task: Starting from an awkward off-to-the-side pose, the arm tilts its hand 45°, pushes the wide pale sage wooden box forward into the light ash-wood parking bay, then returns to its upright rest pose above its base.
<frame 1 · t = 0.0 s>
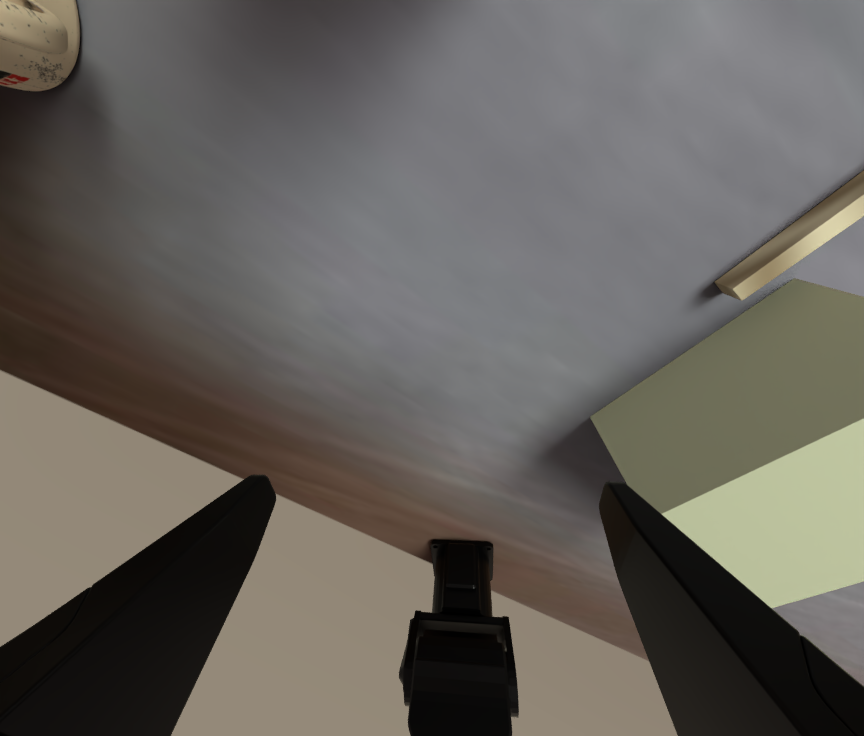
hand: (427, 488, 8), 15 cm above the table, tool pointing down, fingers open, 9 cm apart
sage box: (723, 405, 23), on the table
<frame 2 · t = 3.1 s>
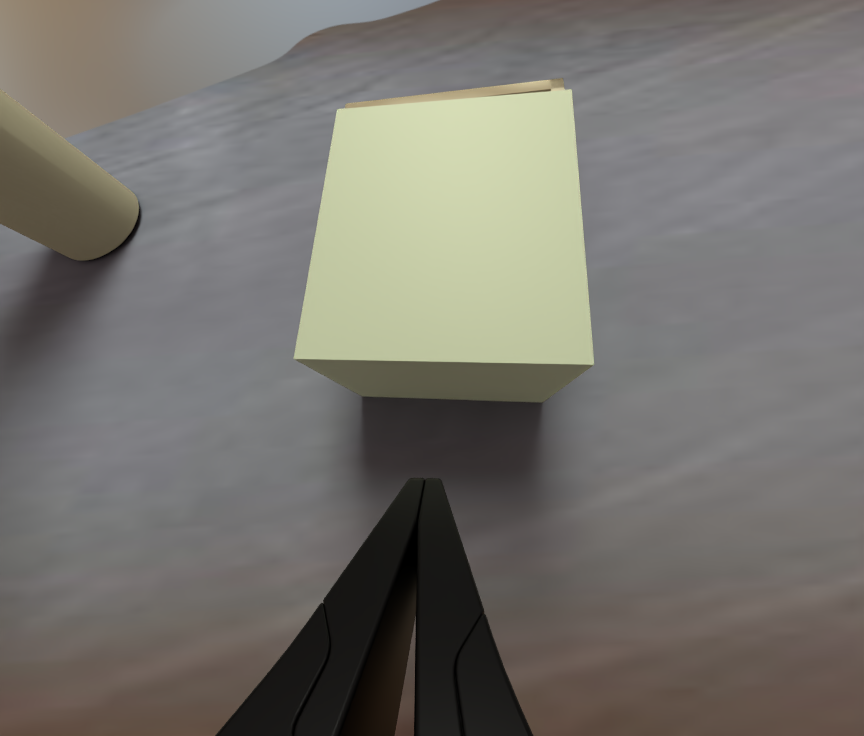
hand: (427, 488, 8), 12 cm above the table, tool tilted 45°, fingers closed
sage box: (453, 304, 23), on the table
parking bay: (451, 179, 26), on the table
travel mug: (105, 226, 29), on the table
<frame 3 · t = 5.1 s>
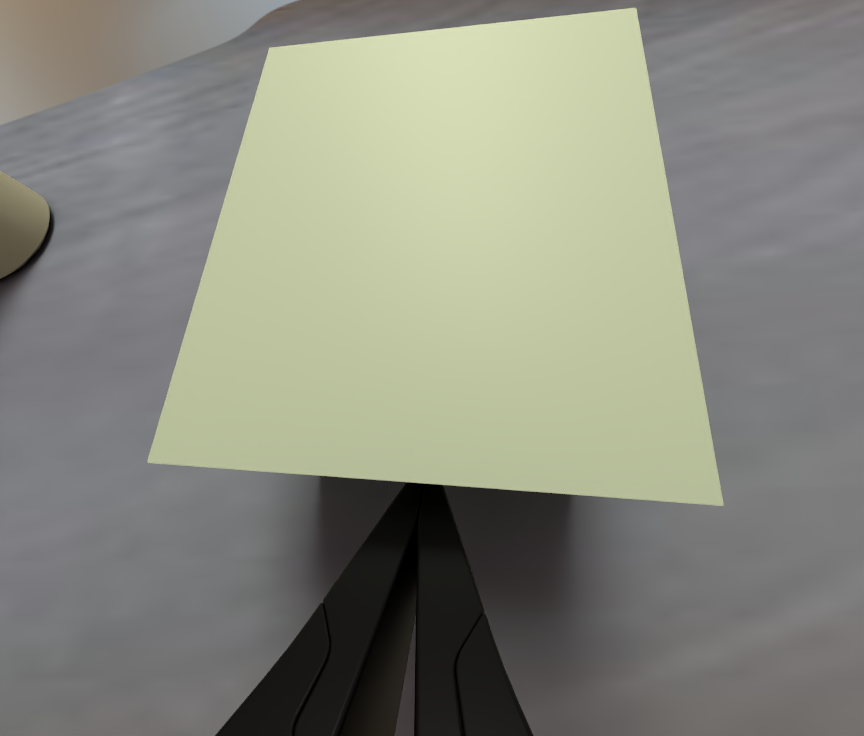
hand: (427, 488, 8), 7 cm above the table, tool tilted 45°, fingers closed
sage box: (447, 333, 17), on the table, touching gripper
travel mug: (9, 241, 23), on the table
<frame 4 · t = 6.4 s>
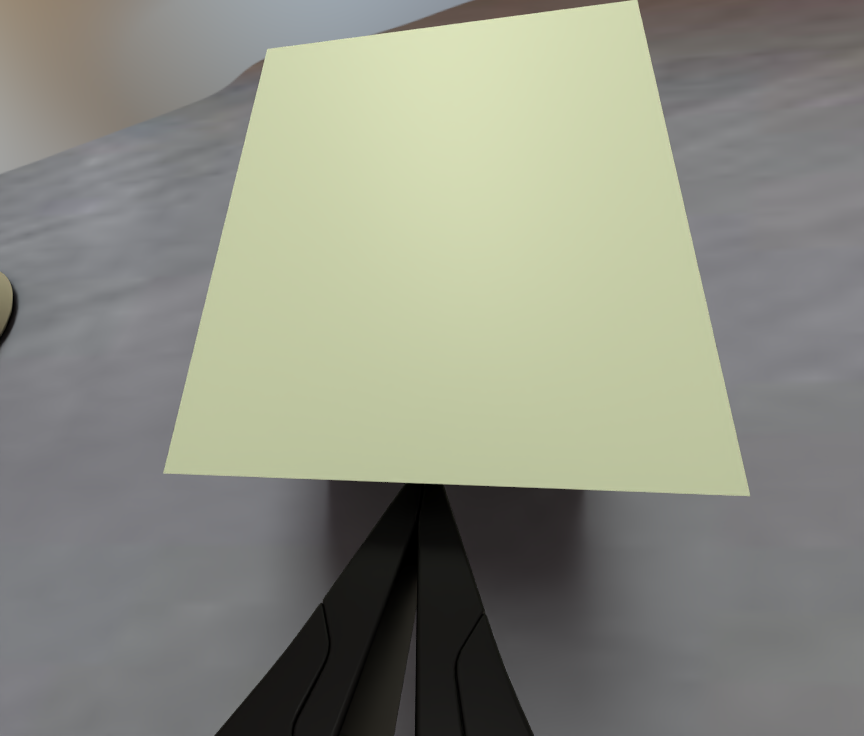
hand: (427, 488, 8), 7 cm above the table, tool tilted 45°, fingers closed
sage box: (452, 332, 17), on the table
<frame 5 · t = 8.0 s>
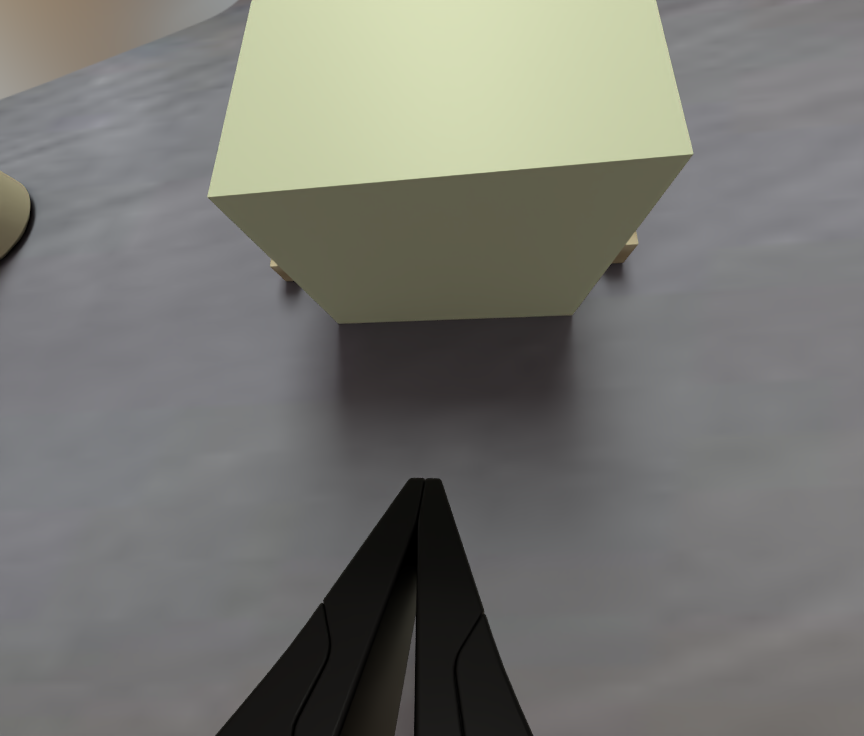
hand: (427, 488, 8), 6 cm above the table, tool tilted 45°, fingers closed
sage box: (450, 207, 18), on the table
parking bay: (444, 166, 19), on the table
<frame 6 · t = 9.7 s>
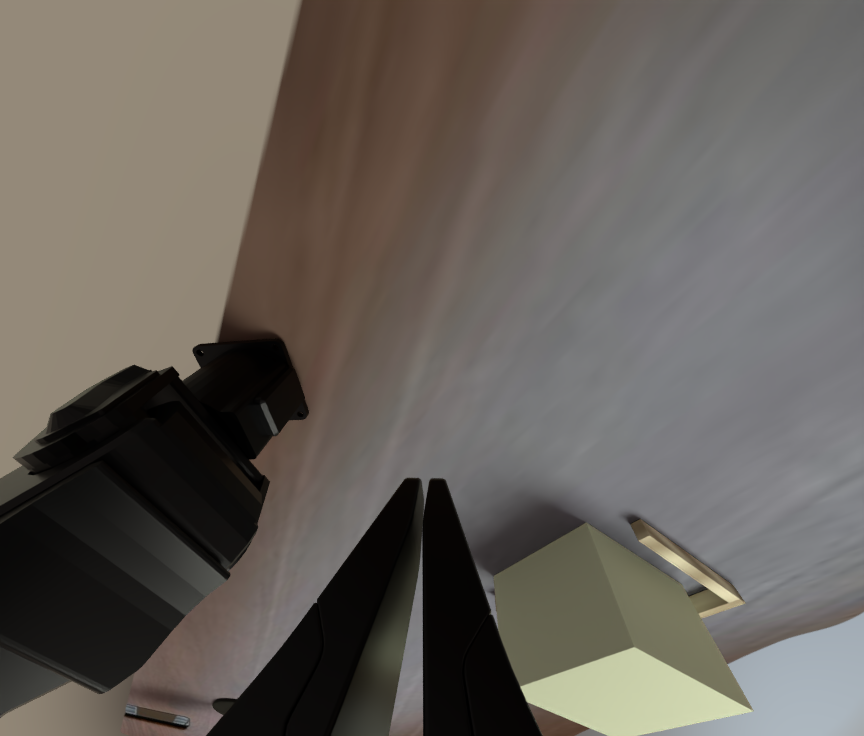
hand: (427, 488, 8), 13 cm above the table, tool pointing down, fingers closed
sage box: (584, 578, 33), on the table
parking bay: (605, 590, 33), on the table
wine glass: (241, 707, 61), on the table
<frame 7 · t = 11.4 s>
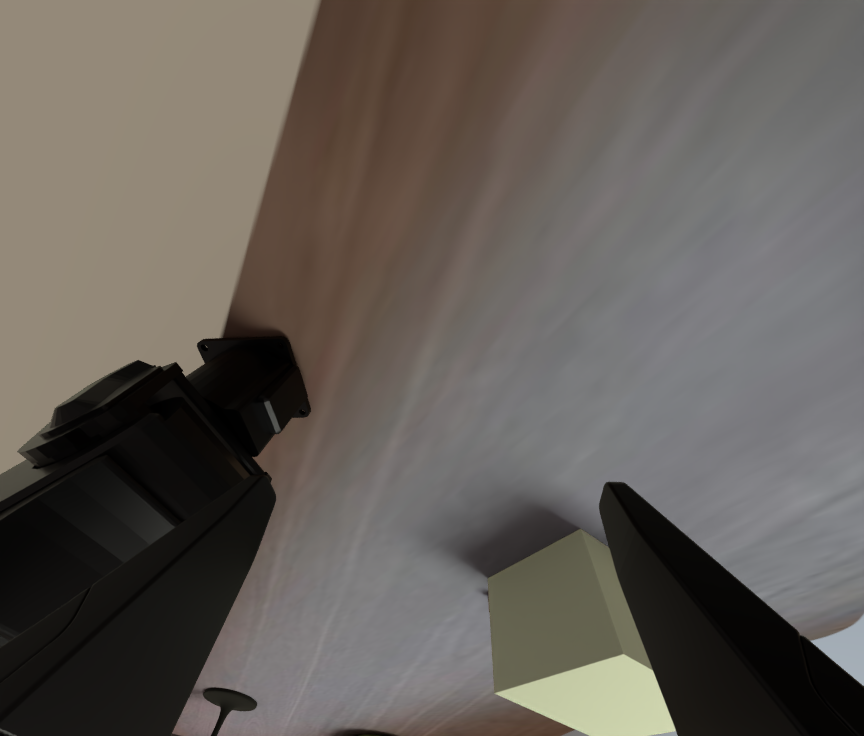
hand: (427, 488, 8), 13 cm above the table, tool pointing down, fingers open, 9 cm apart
sage box: (577, 583, 33), on the table
wine glass: (231, 696, 62), on the table
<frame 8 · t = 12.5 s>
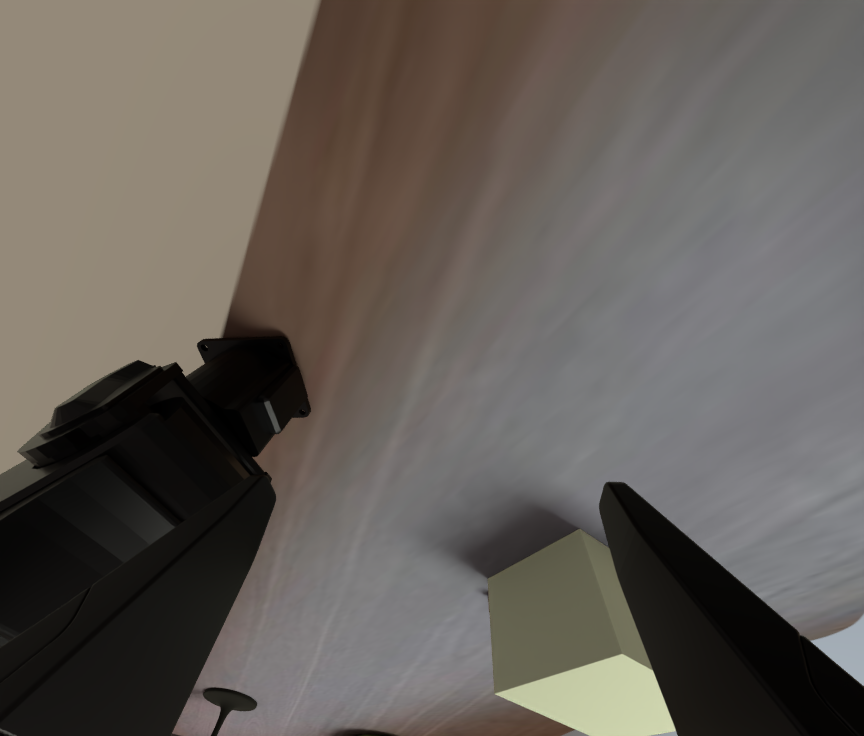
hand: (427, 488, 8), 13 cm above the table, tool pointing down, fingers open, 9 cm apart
sage box: (577, 583, 33), on the table
wine glass: (231, 696, 62), on the table
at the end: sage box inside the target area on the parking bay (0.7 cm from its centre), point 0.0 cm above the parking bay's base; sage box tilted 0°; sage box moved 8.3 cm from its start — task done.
